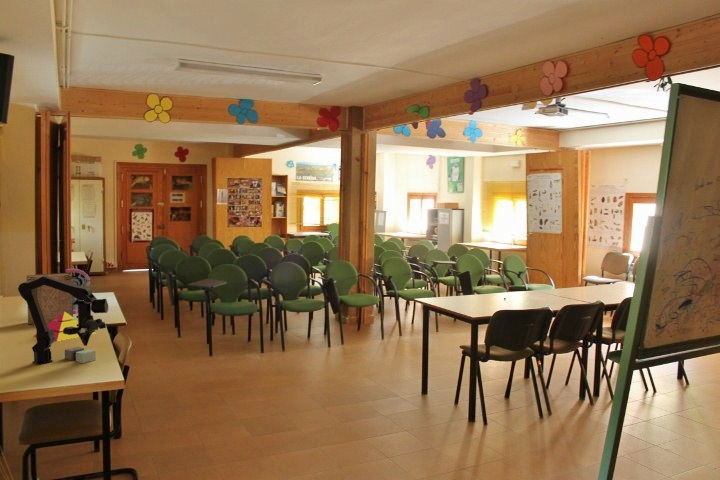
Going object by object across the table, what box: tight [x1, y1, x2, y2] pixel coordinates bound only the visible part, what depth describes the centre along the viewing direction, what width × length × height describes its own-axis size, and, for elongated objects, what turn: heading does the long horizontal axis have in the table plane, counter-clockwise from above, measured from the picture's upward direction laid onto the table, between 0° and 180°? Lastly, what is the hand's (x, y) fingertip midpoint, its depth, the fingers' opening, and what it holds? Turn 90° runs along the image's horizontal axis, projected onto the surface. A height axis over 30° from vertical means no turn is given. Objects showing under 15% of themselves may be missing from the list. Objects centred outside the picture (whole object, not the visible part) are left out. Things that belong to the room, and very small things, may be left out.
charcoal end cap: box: [64, 346, 85, 361], centre depth 289 cm, size 6×7×4 cm
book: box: [26, 272, 74, 326], centre depth 374 cm, size 25×9×30 cm, turn 119°
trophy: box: [65, 268, 91, 315], centre depth 407 cm, size 20×17×30 cm
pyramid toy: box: [33, 311, 97, 342], centre depth 338 cm, size 25×25×14 cm
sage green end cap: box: [75, 348, 97, 364], centre depth 284 cm, size 6×7×4 cm
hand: (85, 345), depth 283 cm, fingers closed
